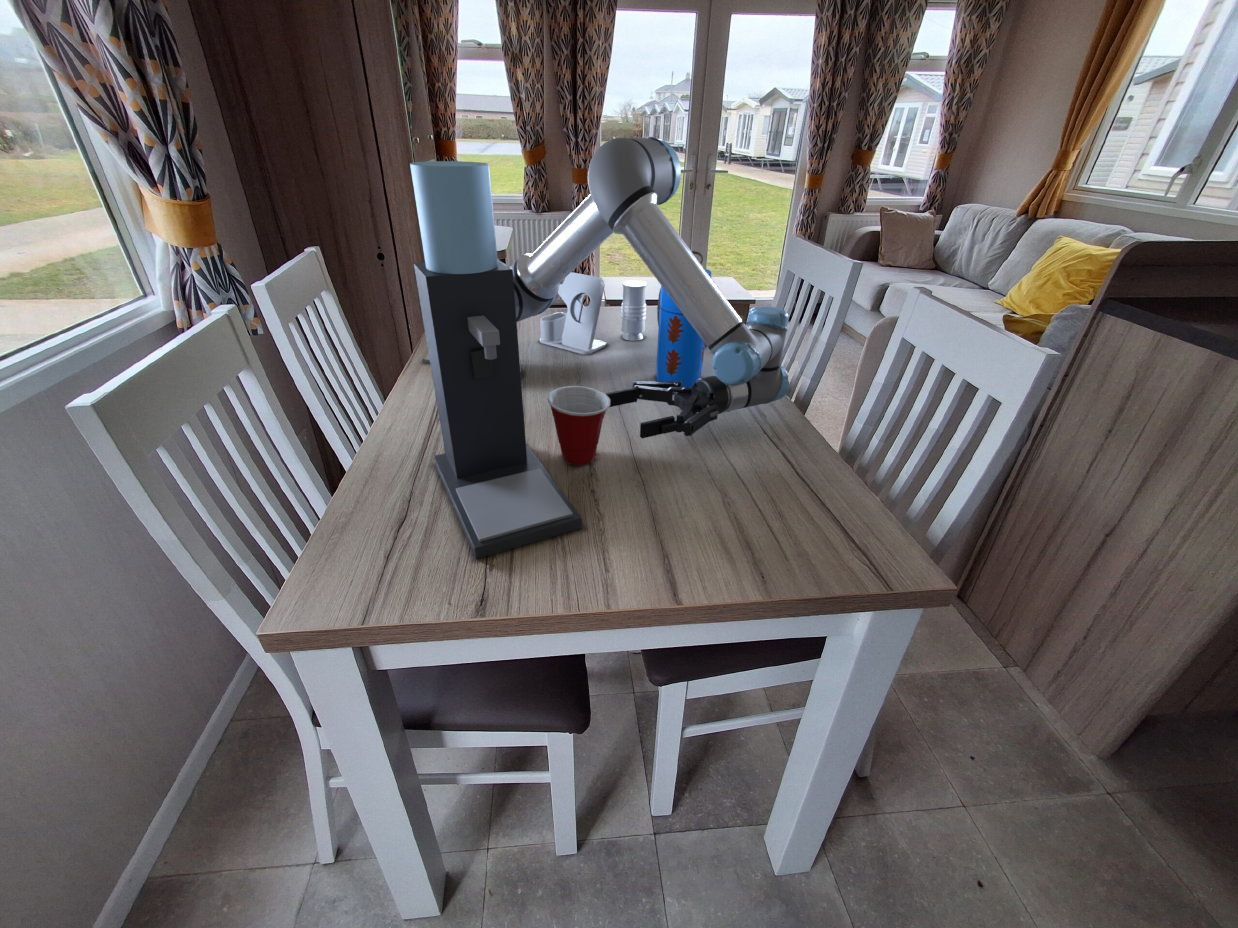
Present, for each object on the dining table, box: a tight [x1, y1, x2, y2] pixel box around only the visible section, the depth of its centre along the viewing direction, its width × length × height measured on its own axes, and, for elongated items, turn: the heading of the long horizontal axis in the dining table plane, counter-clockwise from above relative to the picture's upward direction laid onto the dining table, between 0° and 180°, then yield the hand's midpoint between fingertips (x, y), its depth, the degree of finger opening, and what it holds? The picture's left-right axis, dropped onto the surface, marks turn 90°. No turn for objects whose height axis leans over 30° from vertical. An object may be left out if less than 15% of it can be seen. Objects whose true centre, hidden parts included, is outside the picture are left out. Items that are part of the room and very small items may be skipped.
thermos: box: [656, 267, 712, 387], centre depth 127 cm, size 11×11×25 cm
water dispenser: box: [409, 160, 583, 560], centre depth 79 cm, size 28×16×47 cm, turn 27°
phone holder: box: [539, 271, 607, 356], centre depth 149 cm, size 17×10×18 cm, turn 55°
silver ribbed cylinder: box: [620, 279, 648, 342], centre depth 155 cm, size 7×7×15 cm
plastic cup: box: [546, 385, 610, 466], centre depth 98 cm, size 11×11×12 cm
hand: (622, 414), depth 101 cm, fingers open, 13 cm apart
